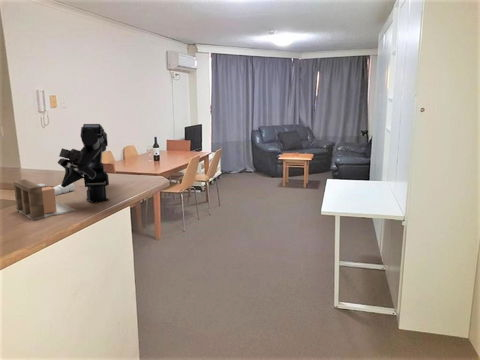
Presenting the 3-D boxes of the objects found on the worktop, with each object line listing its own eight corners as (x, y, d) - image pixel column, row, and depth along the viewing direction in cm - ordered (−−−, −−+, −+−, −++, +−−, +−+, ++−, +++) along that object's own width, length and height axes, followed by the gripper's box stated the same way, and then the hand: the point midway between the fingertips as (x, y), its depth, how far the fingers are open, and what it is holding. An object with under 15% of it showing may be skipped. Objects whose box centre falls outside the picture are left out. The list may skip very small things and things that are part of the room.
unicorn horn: (16, 202, 154) (15, 190, 153) (68, 190, 174) (67, 179, 173) (24, 204, 152) (22, 192, 151) (75, 191, 172) (74, 181, 171)
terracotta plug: (51, 208, 143) (49, 186, 141) (56, 211, 140) (54, 188, 138) (34, 212, 138) (32, 189, 137) (39, 214, 136) (36, 191, 134)
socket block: (58, 202, 153) (55, 175, 151) (75, 210, 143) (72, 181, 141) (16, 210, 142) (13, 181, 140) (32, 220, 133) (29, 188, 130)
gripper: (60, 137, 147) (33, 170, 142) (85, 143, 136) (57, 178, 130) (81, 155, 155) (56, 186, 150) (107, 161, 144) (81, 196, 138)
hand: (62, 186), depth 142 cm, fingers closed
